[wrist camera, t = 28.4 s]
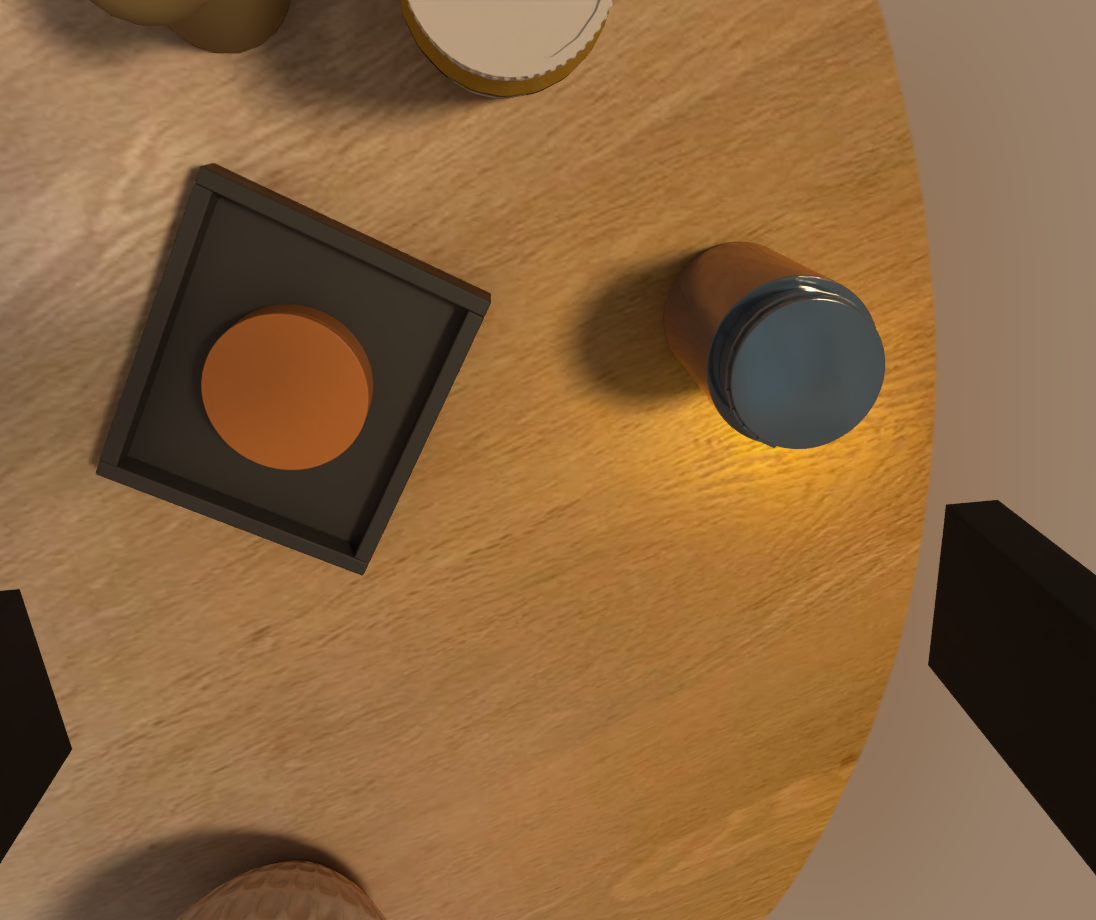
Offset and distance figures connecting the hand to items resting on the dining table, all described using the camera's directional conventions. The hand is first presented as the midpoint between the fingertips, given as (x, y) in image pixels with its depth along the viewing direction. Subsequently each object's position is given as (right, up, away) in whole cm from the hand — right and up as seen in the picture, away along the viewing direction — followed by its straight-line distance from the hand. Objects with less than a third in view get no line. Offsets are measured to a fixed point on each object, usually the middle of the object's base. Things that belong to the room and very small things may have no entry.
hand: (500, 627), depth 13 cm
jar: (+10, +10, +31) cm, 34 cm away
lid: (-11, +6, +29) cm, 31 cm away
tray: (-12, +6, +31) cm, 33 cm away
